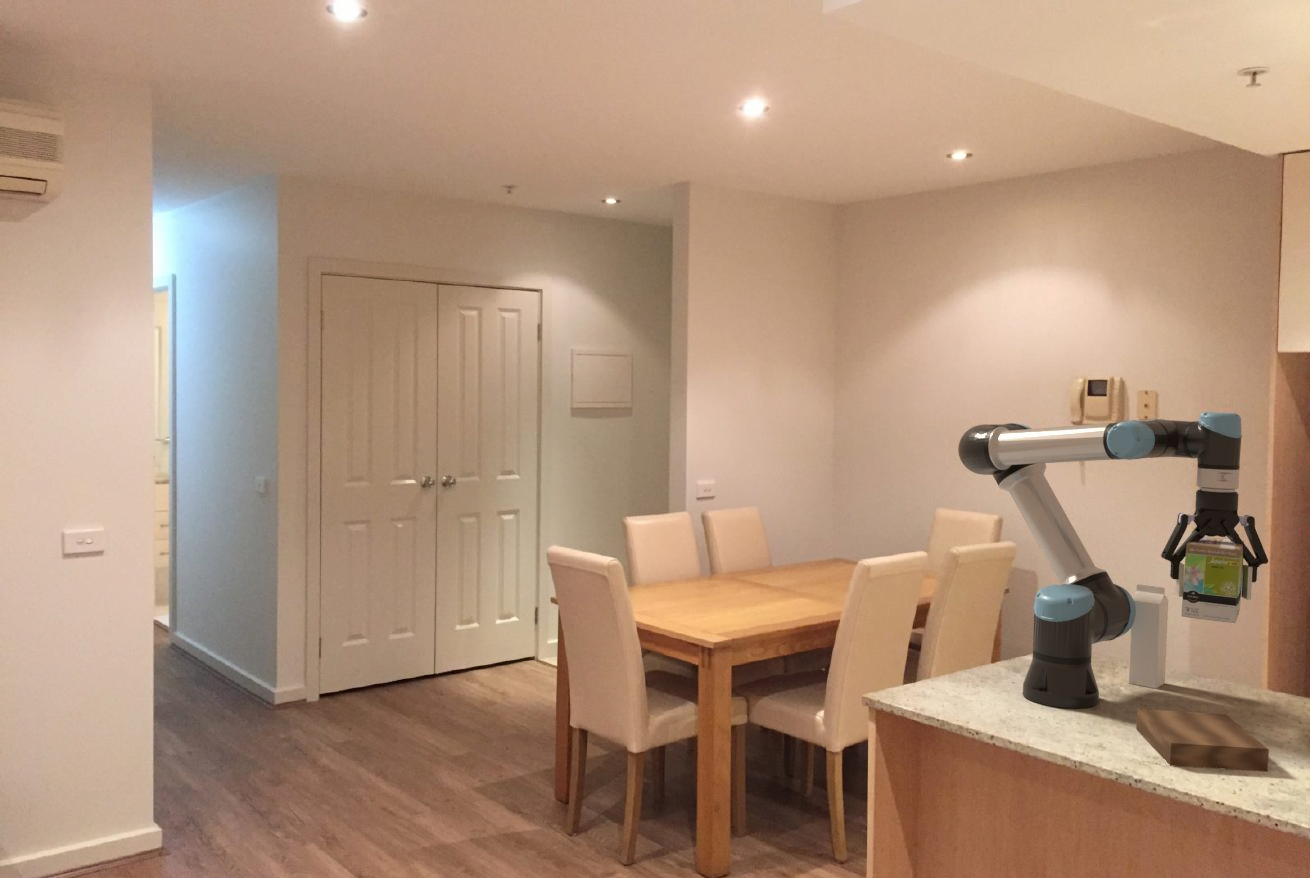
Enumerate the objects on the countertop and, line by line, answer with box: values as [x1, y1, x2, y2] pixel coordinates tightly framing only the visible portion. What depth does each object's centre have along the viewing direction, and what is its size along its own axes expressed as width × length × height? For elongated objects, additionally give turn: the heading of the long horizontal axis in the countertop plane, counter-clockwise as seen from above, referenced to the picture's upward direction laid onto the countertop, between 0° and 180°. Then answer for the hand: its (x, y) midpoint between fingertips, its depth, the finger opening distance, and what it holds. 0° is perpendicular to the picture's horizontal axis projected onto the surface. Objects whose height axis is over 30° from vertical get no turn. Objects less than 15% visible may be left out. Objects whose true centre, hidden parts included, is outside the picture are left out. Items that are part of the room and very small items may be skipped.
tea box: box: [1181, 537, 1245, 624], centre depth 217 cm, size 15×10×15 cm, turn 150°
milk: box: [1128, 583, 1169, 689], centre depth 242 cm, size 6×6×22 cm
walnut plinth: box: [1136, 708, 1270, 773], centre depth 198 cm, size 16×20×4 cm
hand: (1212, 597), depth 217 cm, fingers closed on tea box, 12 cm apart
